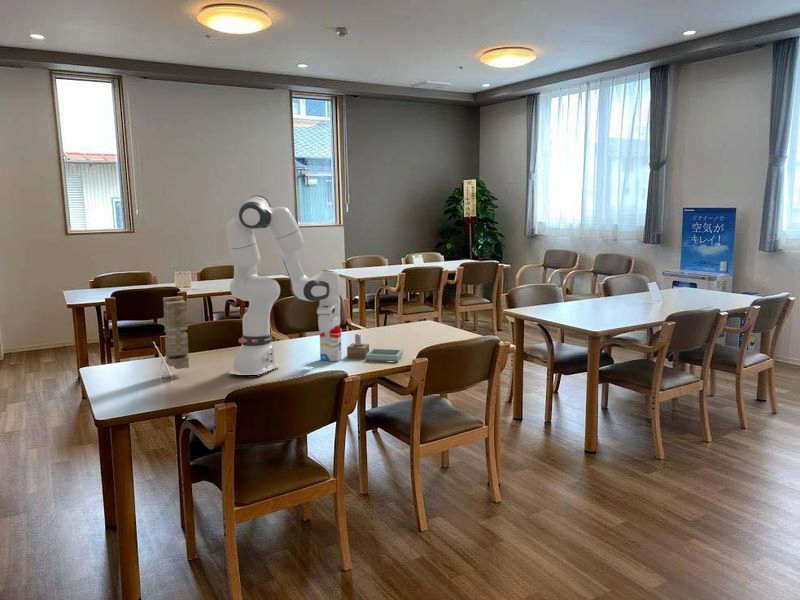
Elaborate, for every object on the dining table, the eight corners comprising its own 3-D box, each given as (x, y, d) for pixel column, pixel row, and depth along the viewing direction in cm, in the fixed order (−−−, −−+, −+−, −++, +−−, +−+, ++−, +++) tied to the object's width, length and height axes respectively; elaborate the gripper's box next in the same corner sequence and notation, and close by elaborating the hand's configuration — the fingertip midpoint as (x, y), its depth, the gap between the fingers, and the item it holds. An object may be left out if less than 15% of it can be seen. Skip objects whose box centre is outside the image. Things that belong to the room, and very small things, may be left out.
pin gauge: (360, 357, 268) (359, 335, 267) (354, 357, 269) (354, 334, 267) (361, 356, 271) (361, 334, 269) (356, 355, 271) (356, 333, 270)
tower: (170, 370, 246) (166, 299, 242) (165, 366, 253) (161, 297, 249) (190, 368, 250) (186, 298, 246) (185, 363, 257) (181, 295, 253)
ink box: (320, 360, 262) (318, 327, 260) (323, 358, 267) (322, 325, 265) (339, 361, 260) (338, 327, 259) (342, 358, 265) (341, 325, 263)
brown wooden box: (364, 359, 265) (364, 347, 264) (347, 358, 267) (347, 347, 266) (369, 354, 273) (369, 344, 272) (352, 354, 274) (351, 343, 274)
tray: (397, 362, 258) (397, 355, 258) (365, 361, 261) (365, 354, 260) (402, 356, 270) (402, 349, 269) (372, 355, 272) (372, 348, 272)
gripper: (330, 304, 271) (330, 334, 273) (315, 310, 251) (315, 343, 253) (343, 304, 270) (343, 334, 272) (330, 311, 250) (330, 343, 252)
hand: (330, 339), depth 262 cm, fingers closed on ink box, 5 cm apart
